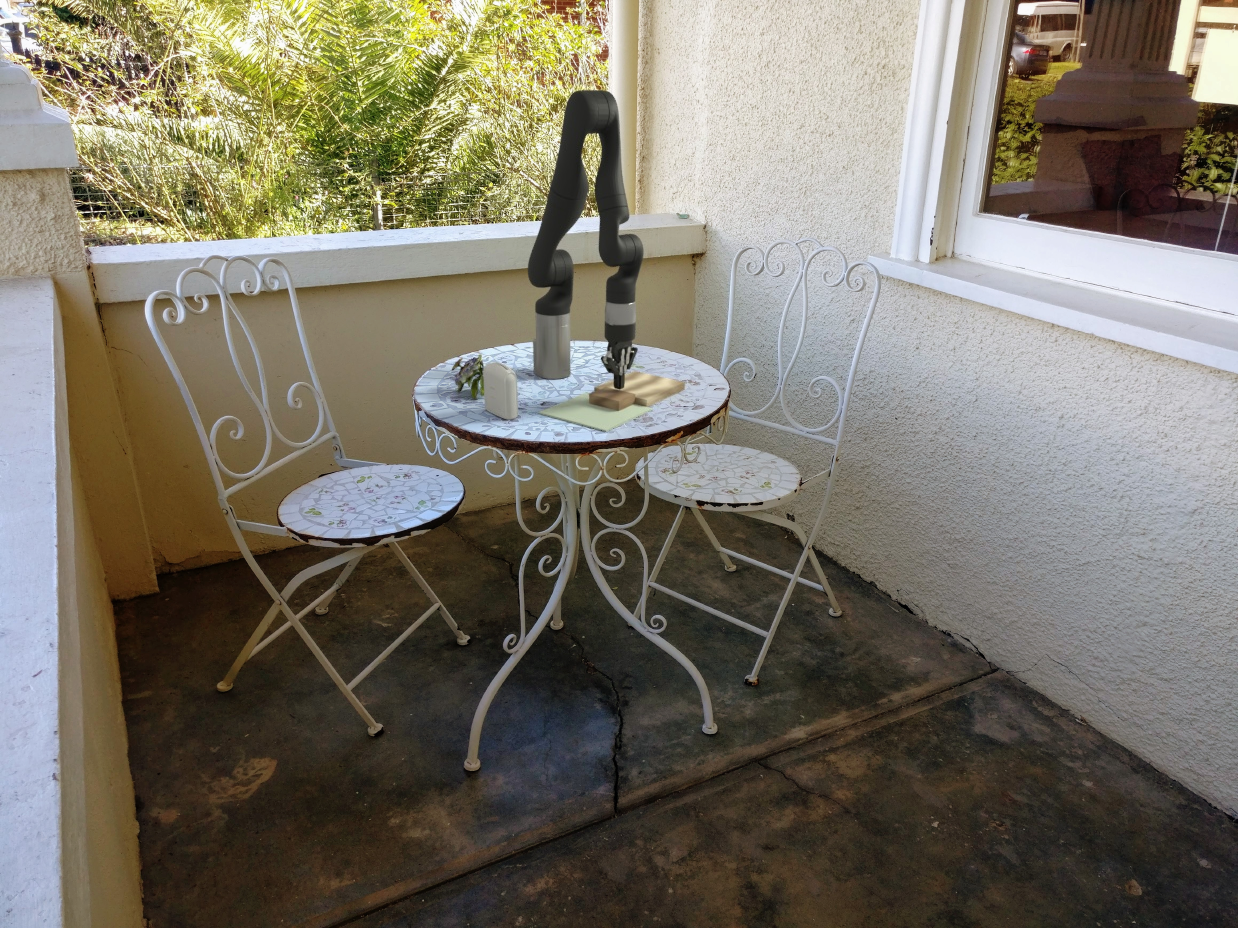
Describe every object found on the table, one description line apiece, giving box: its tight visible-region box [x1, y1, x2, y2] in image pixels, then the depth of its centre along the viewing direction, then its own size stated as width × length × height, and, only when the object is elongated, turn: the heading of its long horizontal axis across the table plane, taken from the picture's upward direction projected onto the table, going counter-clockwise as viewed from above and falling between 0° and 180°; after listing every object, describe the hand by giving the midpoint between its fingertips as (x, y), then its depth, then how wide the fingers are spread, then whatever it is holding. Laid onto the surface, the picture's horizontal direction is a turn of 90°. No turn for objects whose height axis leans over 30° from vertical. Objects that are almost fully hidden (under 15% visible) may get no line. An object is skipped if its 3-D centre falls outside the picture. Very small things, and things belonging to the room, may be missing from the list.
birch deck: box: [593, 370, 686, 408], centre depth 227 cm, size 16×18×2 cm
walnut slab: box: [589, 387, 635, 411], centre depth 217 cm, size 9×7×2 cm
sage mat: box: [538, 391, 653, 433], centre depth 213 cm, size 20×19×1 cm
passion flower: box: [451, 353, 485, 401], centre depth 224 cm, size 11×11×12 cm
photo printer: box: [483, 361, 519, 420], centre depth 208 cm, size 10×4×12 cm, turn 39°
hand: (618, 388), depth 219 cm, fingers closed
